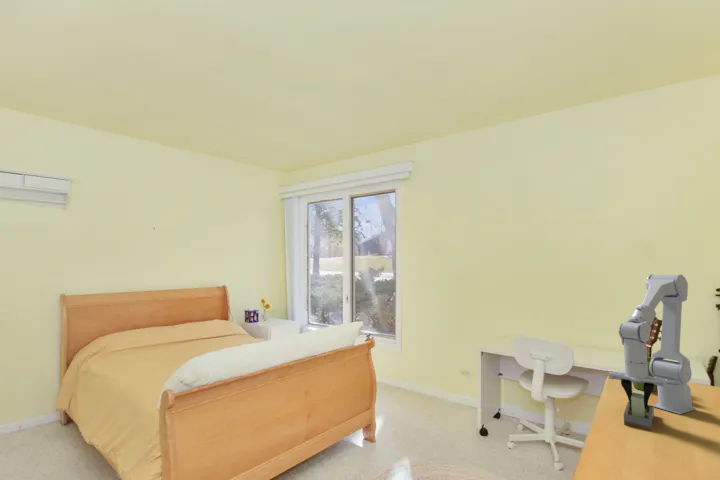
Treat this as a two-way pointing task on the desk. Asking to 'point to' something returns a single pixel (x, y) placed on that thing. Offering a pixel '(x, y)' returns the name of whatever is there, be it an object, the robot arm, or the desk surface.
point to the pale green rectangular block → (638, 404)
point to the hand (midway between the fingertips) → (638, 406)
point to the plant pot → (640, 385)
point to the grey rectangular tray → (639, 418)
